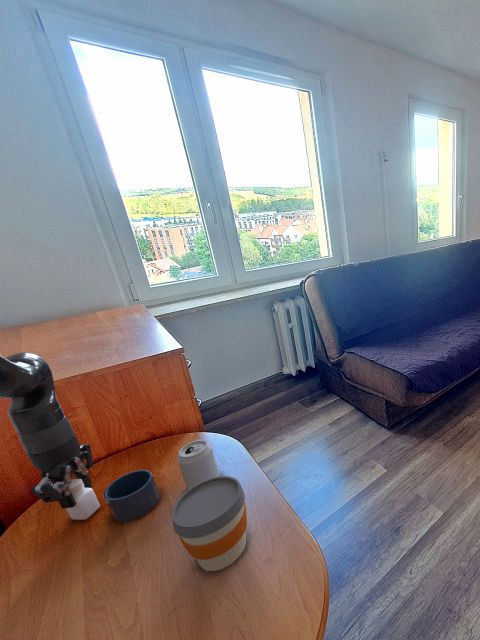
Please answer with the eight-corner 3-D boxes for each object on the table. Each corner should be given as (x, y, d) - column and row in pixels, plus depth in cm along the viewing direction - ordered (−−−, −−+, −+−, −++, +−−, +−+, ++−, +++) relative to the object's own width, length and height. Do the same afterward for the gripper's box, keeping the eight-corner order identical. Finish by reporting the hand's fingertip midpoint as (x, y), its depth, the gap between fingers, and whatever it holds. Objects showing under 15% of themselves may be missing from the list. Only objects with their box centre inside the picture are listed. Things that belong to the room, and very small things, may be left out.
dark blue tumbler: (128, 527, 78) (118, 505, 75) (105, 514, 81) (94, 492, 78) (168, 496, 86) (160, 475, 83) (145, 485, 89) (137, 465, 86)
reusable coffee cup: (262, 552, 72) (249, 502, 67) (194, 595, 65) (173, 542, 59) (246, 513, 81) (234, 465, 76) (185, 546, 73) (166, 496, 68)
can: (192, 475, 92) (181, 440, 88) (223, 469, 94) (213, 435, 90) (183, 497, 85) (170, 461, 81) (216, 490, 87) (205, 454, 83)
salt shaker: (70, 520, 79) (54, 490, 76) (86, 505, 83) (72, 476, 80) (86, 521, 79) (71, 491, 76) (102, 506, 83) (88, 477, 79)
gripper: (55, 421, 79) (82, 476, 85) (-3, 467, 66) (33, 528, 72) (92, 417, 80) (116, 471, 86) (43, 461, 67) (74, 521, 73)
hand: (78, 497), depth 79 cm, fingers closed on salt shaker, 4 cm apart
